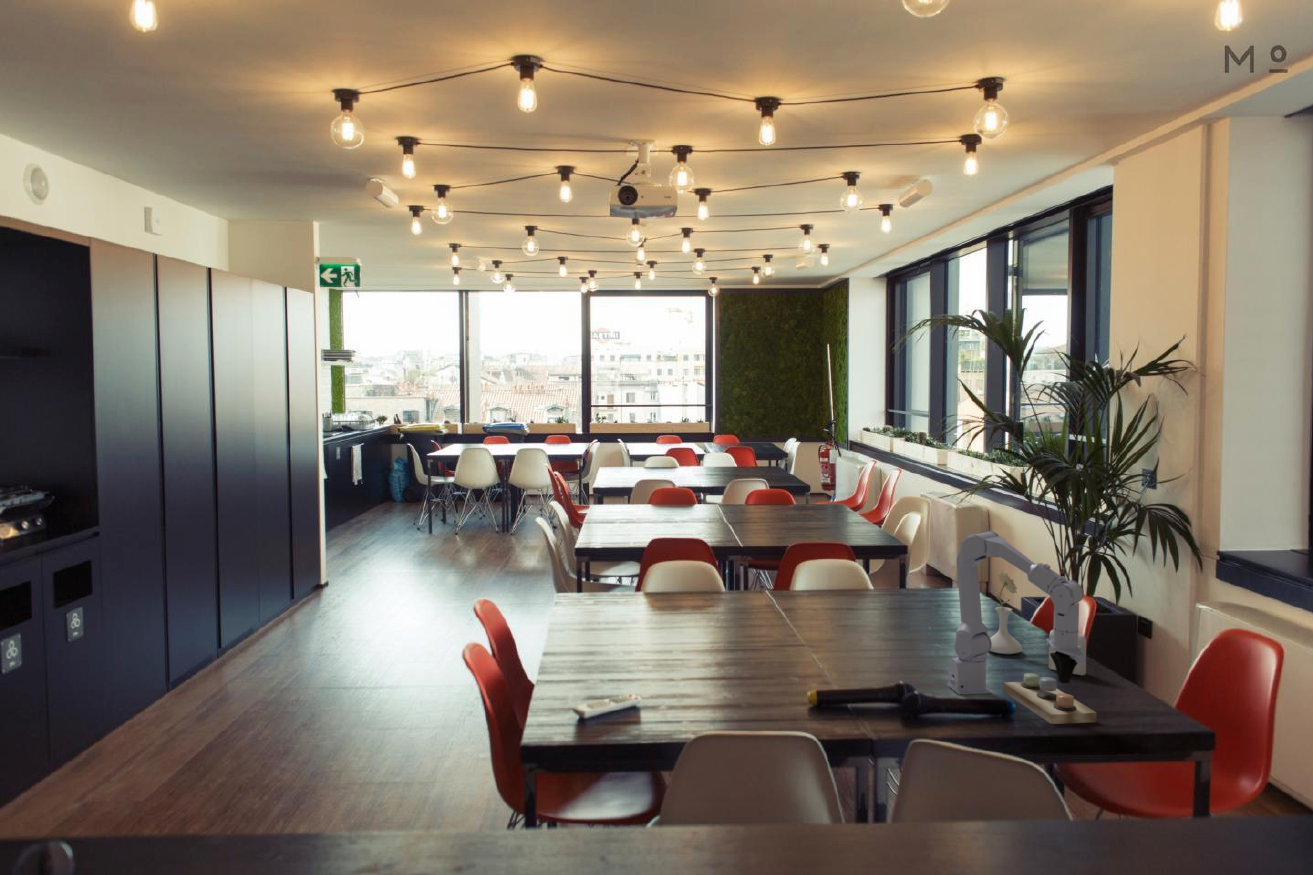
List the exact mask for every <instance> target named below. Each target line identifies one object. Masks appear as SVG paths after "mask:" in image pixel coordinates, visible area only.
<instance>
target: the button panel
mask: <svg viewBox="0 0 1313 875" xmlns="http://www.w3.org/2000/svg"><path fill="white" fill-rule="evenodd" d="M1002 684H1003V685H1002V692H1004V693H1005V694H1007V695H1008V696H1010V698H1013V699H1014V701H1015V700H1016V701H1017V702H1018V703H1020V704H1021V705H1022V706H1024V707H1025V708H1027V709H1029V710H1030V711H1031V712H1033V713H1034V714H1036V715H1037V716H1038V717H1040V718H1041V719H1043V720H1044V721H1046V722H1047V723H1048V724H1050V725H1060V724H1061V725H1062V724H1063V725H1065V724H1081V723H1082V724H1083V723H1084V724H1085V723H1097V718H1098V717H1097V714H1098V713H1097V712H1096V711H1095V710H1093V709H1092V708H1090V707H1088V706H1086V705H1085V704H1084V703H1081V702H1080V701H1078V700H1077V699H1075V698H1074V707H1073V708H1062V707H1059V706H1057V705H1056V697H1057V694H1059V693H1064V694H1066V693H1065V692H1063V691H1061V689H1059V688H1057V687H1056V691H1045V690H1042V689H1040V686H1038V687H1031V686H1027V685H1025V684H1024V681H1007V682H1002Z"/></svg>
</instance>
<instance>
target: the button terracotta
mask: <svg viewBox="0 0 1313 875" xmlns="http://www.w3.org/2000/svg"><path fill="white" fill-rule="evenodd" d="M1064 693H1065V692H1064ZM1064 693H1059V694H1057V697H1056V705H1057V706H1059V707H1062V708H1073V707H1074V699H1075V697H1074V695H1072V694H1069V693H1065V694H1064Z"/></svg>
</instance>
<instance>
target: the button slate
mask: <svg viewBox="0 0 1313 875" xmlns="http://www.w3.org/2000/svg"><path fill="white" fill-rule="evenodd" d="M1056 688H1057V679H1056V678H1053V677H1049V676H1048V677H1047V676H1042V677H1041V676H1040V689H1042V690H1045V691H1056Z"/></svg>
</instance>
